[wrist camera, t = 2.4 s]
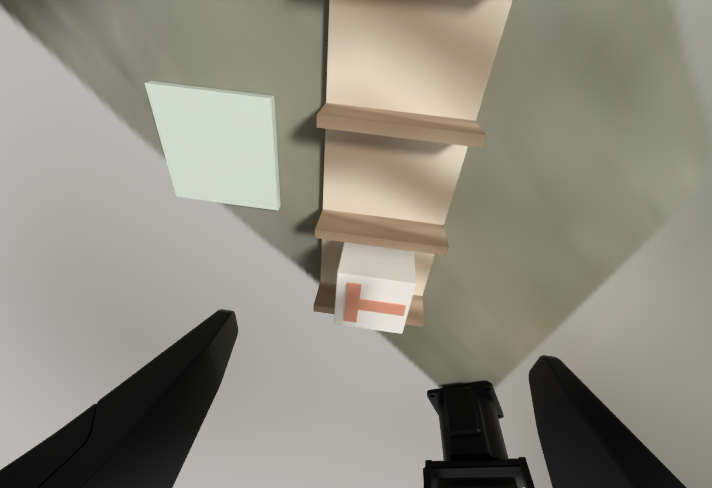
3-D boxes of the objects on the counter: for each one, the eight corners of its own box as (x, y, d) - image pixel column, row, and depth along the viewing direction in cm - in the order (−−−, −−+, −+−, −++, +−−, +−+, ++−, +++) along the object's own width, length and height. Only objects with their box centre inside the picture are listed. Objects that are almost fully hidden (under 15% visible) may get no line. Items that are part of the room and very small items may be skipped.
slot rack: (420, 296, 25) (422, 326, 23) (321, 283, 26) (313, 311, 23) (523, -46, 13) (551, -60, 11) (333, -66, 13) (319, -84, 11)
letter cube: (401, 285, 24) (402, 335, 20) (342, 277, 24) (333, 325, 21) (412, 238, 21) (416, 285, 18) (347, 229, 22) (337, 274, 18)
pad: (280, 206, 22) (277, 210, 21) (181, 192, 22) (176, 196, 21) (274, 95, 17) (270, 98, 17) (151, 80, 18) (144, 83, 17)
